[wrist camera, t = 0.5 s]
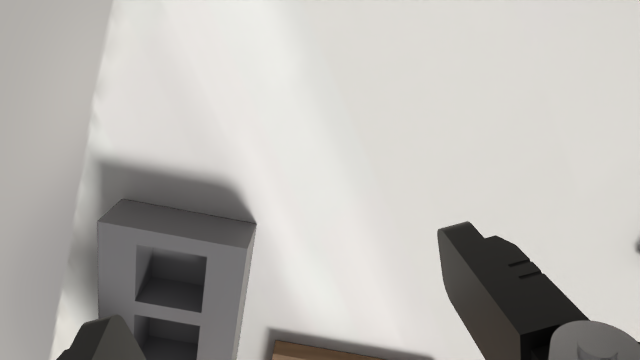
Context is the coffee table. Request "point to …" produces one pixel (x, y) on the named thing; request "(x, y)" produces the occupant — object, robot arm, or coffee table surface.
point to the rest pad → (311, 353)
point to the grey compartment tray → (175, 279)
